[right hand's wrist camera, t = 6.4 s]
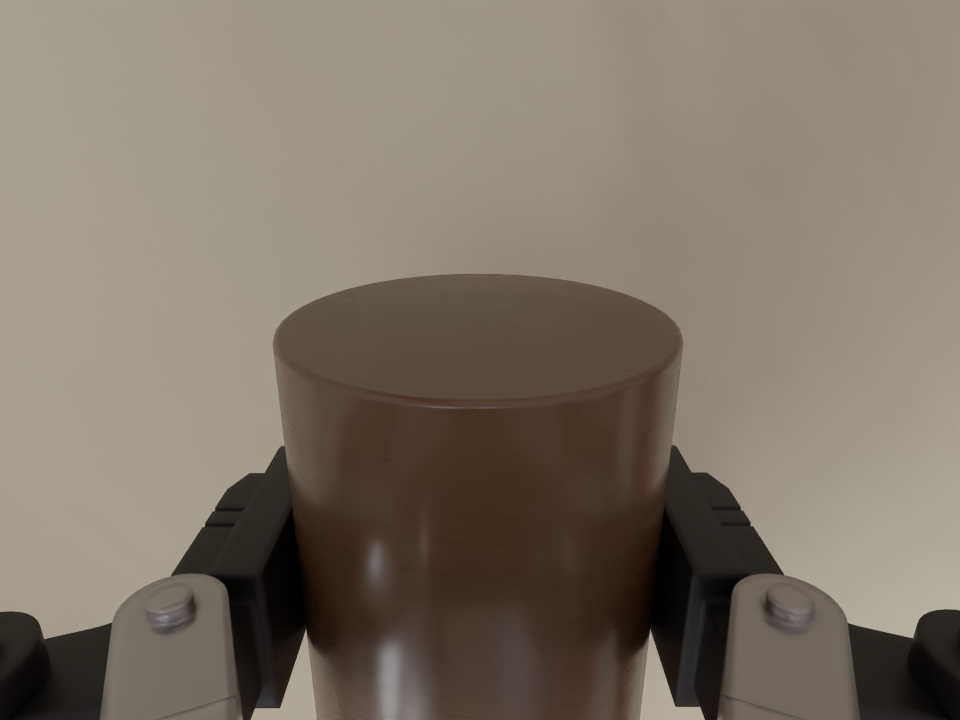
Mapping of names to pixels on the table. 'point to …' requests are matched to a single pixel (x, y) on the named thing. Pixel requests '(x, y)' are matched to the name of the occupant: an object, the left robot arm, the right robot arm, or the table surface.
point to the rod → (478, 494)
